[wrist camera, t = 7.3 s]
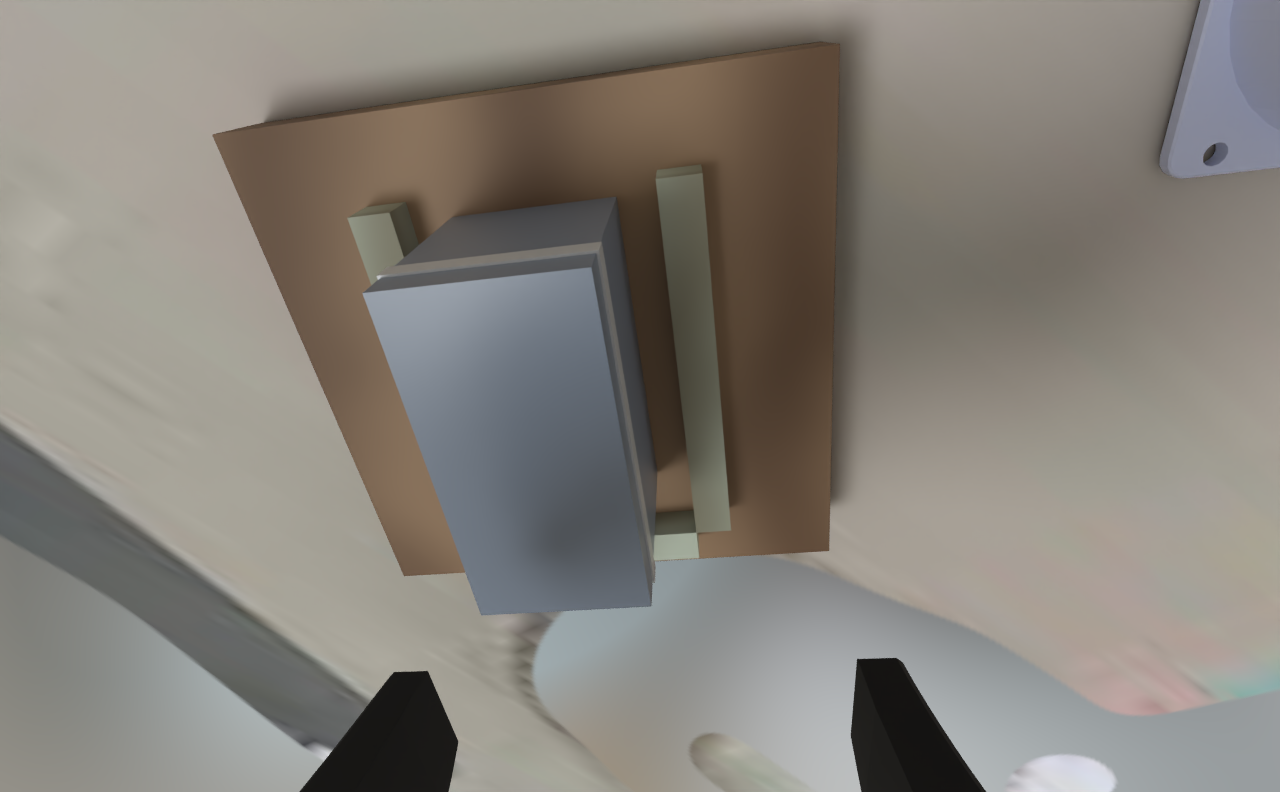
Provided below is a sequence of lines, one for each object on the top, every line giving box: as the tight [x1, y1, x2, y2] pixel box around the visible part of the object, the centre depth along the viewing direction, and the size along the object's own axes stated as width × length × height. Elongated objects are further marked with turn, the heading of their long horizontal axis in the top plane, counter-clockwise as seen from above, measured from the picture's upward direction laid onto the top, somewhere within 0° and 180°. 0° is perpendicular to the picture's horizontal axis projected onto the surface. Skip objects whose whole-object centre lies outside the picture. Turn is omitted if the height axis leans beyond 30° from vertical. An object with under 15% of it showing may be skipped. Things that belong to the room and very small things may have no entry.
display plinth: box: [213, 42, 840, 576], centre depth 18 cm, size 14×14×3 cm
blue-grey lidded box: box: [362, 197, 657, 615], centre depth 15 cm, size 4×8×5 cm, turn 8°
